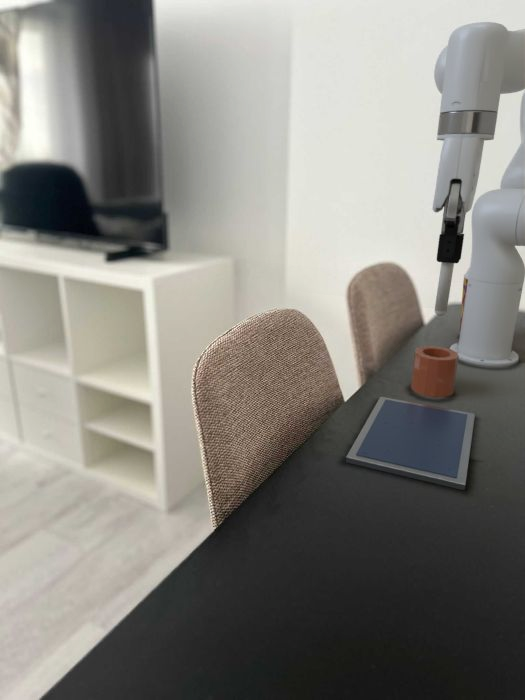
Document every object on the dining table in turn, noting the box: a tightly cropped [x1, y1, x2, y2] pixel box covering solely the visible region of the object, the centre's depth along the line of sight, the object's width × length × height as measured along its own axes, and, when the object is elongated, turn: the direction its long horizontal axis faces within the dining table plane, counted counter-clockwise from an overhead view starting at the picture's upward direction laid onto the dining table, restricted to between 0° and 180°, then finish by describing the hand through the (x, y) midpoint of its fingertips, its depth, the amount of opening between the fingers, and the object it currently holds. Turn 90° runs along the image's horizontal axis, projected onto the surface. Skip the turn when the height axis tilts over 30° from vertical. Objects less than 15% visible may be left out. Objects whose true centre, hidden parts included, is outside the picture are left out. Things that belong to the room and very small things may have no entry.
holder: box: [410, 345, 459, 398], centre depth 83 cm, size 7×7×7 cm
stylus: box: [434, 262, 455, 317], centre depth 78 cm, size 2×2×14 cm
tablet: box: [345, 396, 476, 491], centre depth 70 cm, size 20×14×1 cm
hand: (448, 260), depth 77 cm, fingers closed on stylus, 1 cm apart
